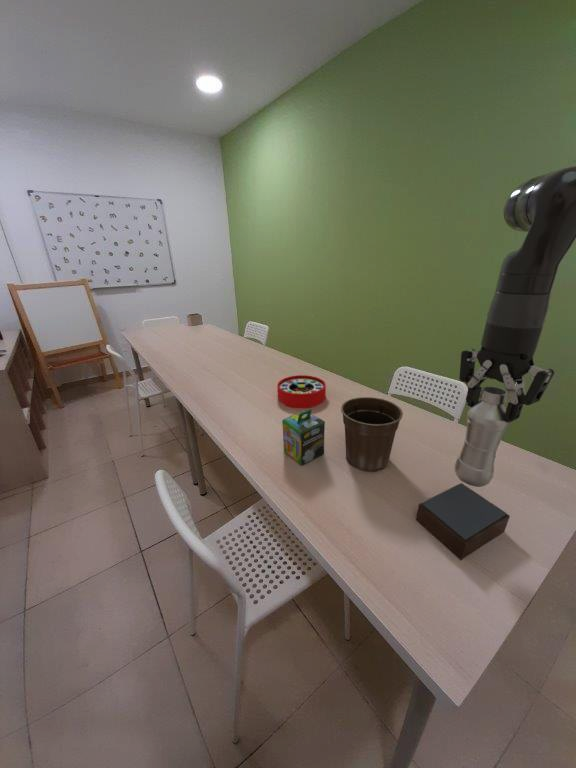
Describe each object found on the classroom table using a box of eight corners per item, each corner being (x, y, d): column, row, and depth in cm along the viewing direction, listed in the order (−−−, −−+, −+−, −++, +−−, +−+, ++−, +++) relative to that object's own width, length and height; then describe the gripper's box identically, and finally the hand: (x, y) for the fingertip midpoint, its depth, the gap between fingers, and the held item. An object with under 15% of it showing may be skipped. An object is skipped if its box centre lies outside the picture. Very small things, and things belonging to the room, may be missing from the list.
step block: (457, 497, 73) (461, 481, 71) (504, 531, 64) (510, 514, 62) (415, 519, 67) (418, 502, 65) (460, 560, 58) (466, 542, 56)
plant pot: (341, 439, 97) (343, 394, 90) (394, 445, 93) (400, 398, 87) (335, 471, 83) (338, 421, 76) (397, 480, 79) (405, 428, 72)
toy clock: (301, 399, 111) (267, 384, 124) (302, 413, 113) (268, 397, 127) (335, 383, 123) (301, 371, 137) (335, 396, 126) (301, 383, 139)
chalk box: (305, 440, 97) (305, 399, 91) (325, 454, 90) (326, 410, 84) (282, 451, 92) (280, 408, 86) (301, 466, 85) (300, 421, 79)
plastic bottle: (461, 464, 65) (482, 380, 57) (496, 482, 60) (524, 391, 52) (446, 477, 62) (465, 389, 54) (481, 496, 57) (508, 402, 49)
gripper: (582, 326, 44) (546, 425, 50) (484, 312, 55) (466, 393, 62) (554, 333, 41) (519, 438, 47) (457, 316, 52) (441, 402, 59)
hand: (489, 412), depth 55 cm, fingers closed on plastic bottle, 6 cm apart
